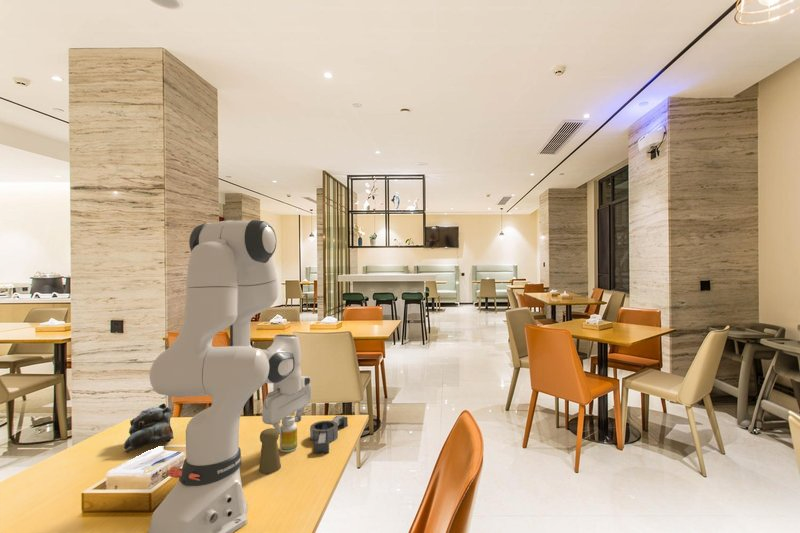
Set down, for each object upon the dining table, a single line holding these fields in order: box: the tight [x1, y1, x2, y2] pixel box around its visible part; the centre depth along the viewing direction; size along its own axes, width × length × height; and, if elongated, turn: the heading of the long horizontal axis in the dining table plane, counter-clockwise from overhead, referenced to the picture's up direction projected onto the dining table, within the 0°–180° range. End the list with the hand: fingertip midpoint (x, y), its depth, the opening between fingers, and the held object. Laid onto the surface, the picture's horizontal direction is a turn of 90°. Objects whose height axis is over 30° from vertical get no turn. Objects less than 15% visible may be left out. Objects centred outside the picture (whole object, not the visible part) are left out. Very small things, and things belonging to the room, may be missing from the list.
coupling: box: [309, 414, 349, 455], centre depth 131 cm, size 23×12×4 cm, turn 157°
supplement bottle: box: [279, 415, 298, 453], centre depth 124 cm, size 5×5×10 cm
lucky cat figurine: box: [123, 403, 175, 453], centre depth 130 cm, size 15×12×14 cm
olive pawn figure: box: [258, 427, 282, 475], centre depth 112 cm, size 6×6×11 cm
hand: (288, 427), depth 125 cm, fingers open, 8 cm apart
